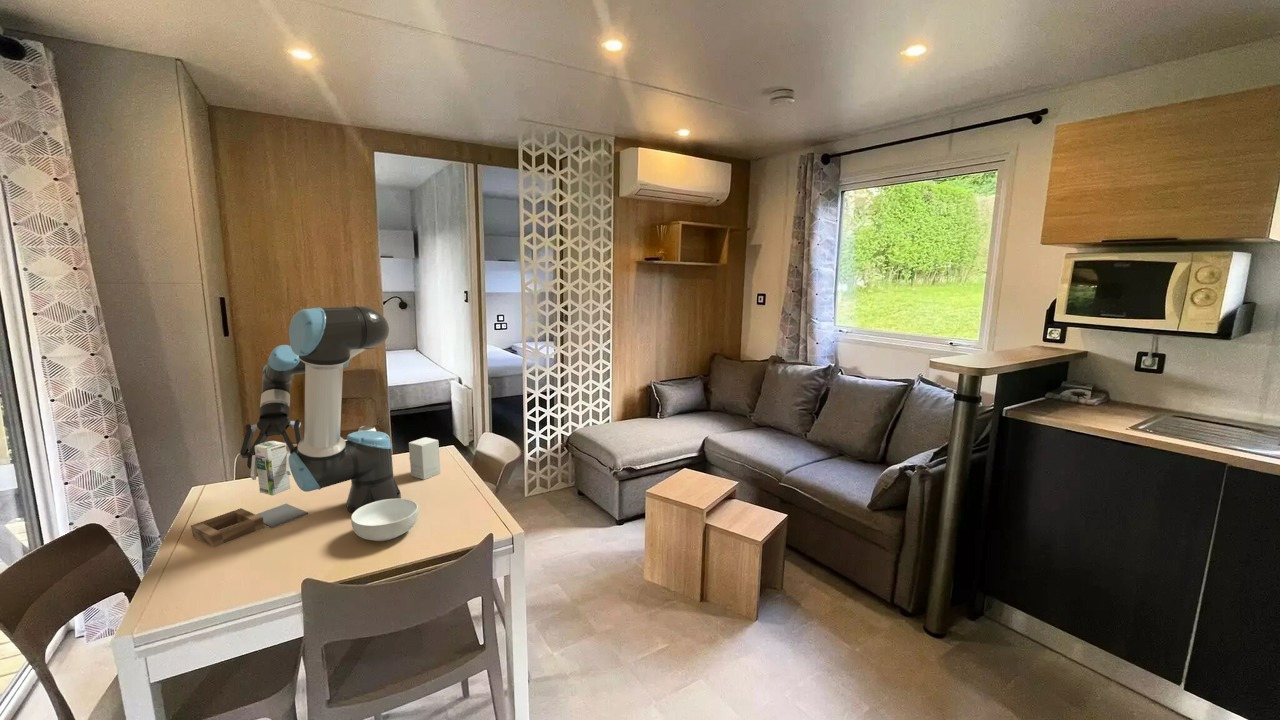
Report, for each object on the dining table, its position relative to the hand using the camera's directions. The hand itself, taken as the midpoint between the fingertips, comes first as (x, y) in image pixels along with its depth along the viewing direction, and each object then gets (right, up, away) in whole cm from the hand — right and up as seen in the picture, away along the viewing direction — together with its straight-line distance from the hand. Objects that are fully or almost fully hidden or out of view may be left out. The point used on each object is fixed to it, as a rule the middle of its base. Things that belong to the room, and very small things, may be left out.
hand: (271, 475), depth 148 cm
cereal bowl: (+36, -16, -5) cm, 39 cm away
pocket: (-8, -15, -5) cm, 18 cm away
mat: (-1, -13, +5) cm, 14 cm away
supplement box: (+29, -8, +37) cm, 48 cm away
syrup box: (-2, -6, +4) cm, 7 cm away
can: (0, -5, +54) cm, 54 cm away
